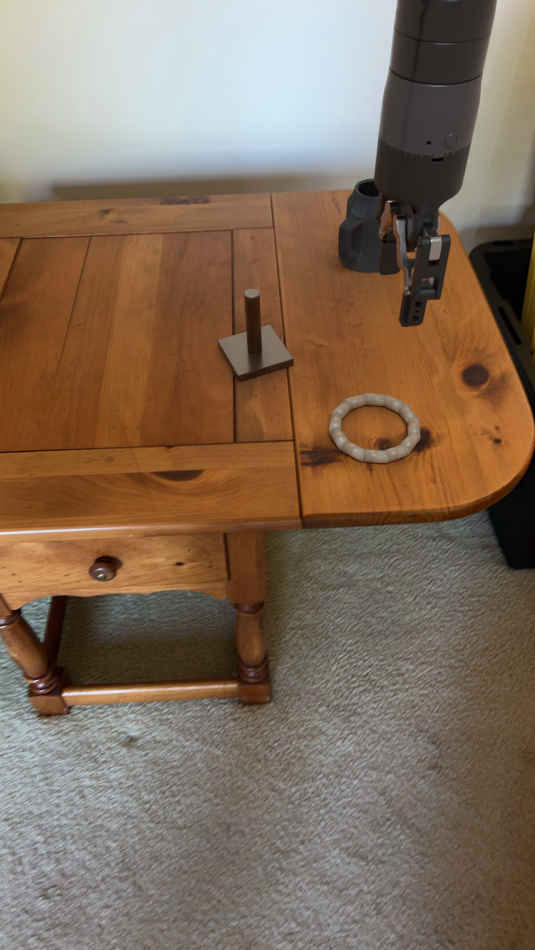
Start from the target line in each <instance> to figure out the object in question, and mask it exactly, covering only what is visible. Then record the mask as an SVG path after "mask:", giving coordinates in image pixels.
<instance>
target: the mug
mask: <svg viewBox="0 0 535 950" xmlns="http://www.w3.org/2000/svg"><path fill="white" fill-rule="evenodd" d="M378 197H379V190H378V189H377V187H376V185H375V183H374V177H372V178H365V179H361V180H360V181H358V182H357V183H356V184H355V185H354V188H353V191H352V192H351V193H350V195H349V196H348V197H347V200H346V201H347V202H346V210H345V211H346V212H345V219H344V220H343V221H342V222H341V223H340V224H339V227H338V240H337V243H338V244H337V254H338V255H337V257H338V260H339V263H341V265H343V266H344V267H345V268H348V269H349V270H350V271H354V272H357V273H367V274H372V273H379V270H378V263H379V255H380V247H381V240H383V239H380V236H379V230H380V227H381V223H379V224H377V222H376V218H375V216H376V212H377V204H378Z"/></svg>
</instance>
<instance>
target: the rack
mask: <svg viewBox="0 0 535 950" xmlns="http://www.w3.org/2000/svg"><path fill="white" fill-rule="evenodd" d="M243 300H244V316H245V317H244V318H245V331H243V332H239V333H237V334H233V335H229V336H225V337H223V338H218V339H217V340H216V342H217V347H218V349H219V351H220V352H221V354H222V356H223V358H224V359H225V361H226V363H227V365H228V366H229V368H230V370H231V372H232V373H233V375H234V378H235V379H236V380H237V382H238V383H241V382H245V381H248V380H250V379H254V378H257V377H260V376H264V375H267V374H270V373H273V372H277V371H280V370H284V369H286V368H290V367H294V363H295V361H294V358H293V356H292V354H291V352H290V351H289V350H288V348H287V346H285V344H284V342H283V340H281V338H280V336H279V335H278V334H277V332H276V331H275V329H274V327H272V325H271V324H268V325H264V326H262V310H261V292H260V290H259V289H257V288H248V289H245V291H244V292H243Z"/></svg>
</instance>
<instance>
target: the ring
mask: <svg viewBox="0 0 535 950" xmlns="http://www.w3.org/2000/svg"><path fill="white" fill-rule="evenodd" d="M363 406H377V407H384V408H387V409H389V410H391V411H393V412H395V413H397V414H399V415H400V417H401V418H402V419H403V420H404V422H405V423H406V424H407V435H406V437H405V438H404V439H403V440H402V441H401V442H400V444H399V445H395V446H393V447H390V448H387V449H383V450H382V449H368V448H363V447H361V446H359V445H358V444H356V443H354V442H352V441H349V439H348V437H347V436H346V434H345V433H344V431H343V430H342V427H343V426H342V424H343V419H344V418H345V416H347V414H348V413H349V412H350V411H352V410H355V409H358V408H360V407H363ZM328 435H329V436H330V438H331V439H332V441H333V442H334V444H335V446H336V447H337V448H338V450H339V451H341V452H342V453H344V454H345V455H347V456H349V457H351V458H353V459H355V460H357V461H359V462H361V463H375V464H387V463H391V462H393V461H396V460H399V459H403V458H404V457H407V456H408V455H410V453H411V452H412V451H413V450H414V448H415V447H416V446H417V444H418V443H419V442H420V441H421V420H420V418H419V416H418V415H417V414H416V413H415V412H414V410H413V408H411V406H410V405H409V404H408V403H407V402H404V401H403V400H400V399H398V398H396V397H394V396H391V395H390V394H387V393H373V392H363V393H360V394H357V395H354V396H351V397H347V398H344V399H343V400H342V401H341V402H340V403H339V404H338V405H337V406H336V408H334V409H333V410H332V411H331V412H330V414H329V424H328Z"/></svg>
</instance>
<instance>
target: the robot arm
mask: <svg viewBox="0 0 535 950" xmlns="http://www.w3.org/2000/svg"><path fill="white" fill-rule="evenodd" d="M497 4H498V0H396V6H395V12H394V21H393V28H392V37H391V45H390V46H391V47H390V48H391V49H390V54H389V65H388V72H387V77H386V80H385V85H384V89H383V94H382V99H381V109H380V117H379V128H378V134H377V135H378V136H377V145H376V155H375V162H374V163H375V164H374V173H373V178H374V183H375V185H376V187H377V189H378V190H379V197H378V204H377V212H376V216H375V218H376V222H377V224H379V223H381V227H380V230H379V236H380V239H383V240H381V247H380V255H379V263H378V270H379V272H378V273H379V275H380V276H389V275H398V274H399V273H400V271H402V276H403V278H402V279H403V291H402V296H401V303H400V309H399V314H398V323H399V325H400V326H401V327H402V328H408V327H409V328H410V327H419V326H421V325H422V324H423V323H424V319H425V316H426V315H425V313H426V308H427V306H428V305H427V304H428V301H439V300H440V299H441V298H442V293H443V288H444V284H445V283H444V282H445V277H446V271H447V267H448V261H449V255H450V250H451V244H452V238H451V235H450V233H446V234H445V233H443V234H441V233H440V234H439V232H440V230H441V214H440V211H439V209H440V207H442V206H443V205H444V204H445V203H446V202H448V201H449V200H451V199H453V198H454V197H455V196H457V194H458V193H459V192H460V191H461V189H462V187H463V183H464V179H465V174H466V169H467V164H468V160H469V156H470V151H471V147H472V143H473V137H474V132H475V128H476V123H477V118H478V114H479V108H480V104H481V103H480V102H481V94H482V82H483V81H482V80H483V74H484V69H485V64H486V60H487V55H488V50H489V45H490V40H491V37H492V36H491V35H492V32H493V26H494V21H495V17H496V10H497ZM409 253H415V257H414V258H410V257H409V256H408V254H409Z"/></svg>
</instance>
